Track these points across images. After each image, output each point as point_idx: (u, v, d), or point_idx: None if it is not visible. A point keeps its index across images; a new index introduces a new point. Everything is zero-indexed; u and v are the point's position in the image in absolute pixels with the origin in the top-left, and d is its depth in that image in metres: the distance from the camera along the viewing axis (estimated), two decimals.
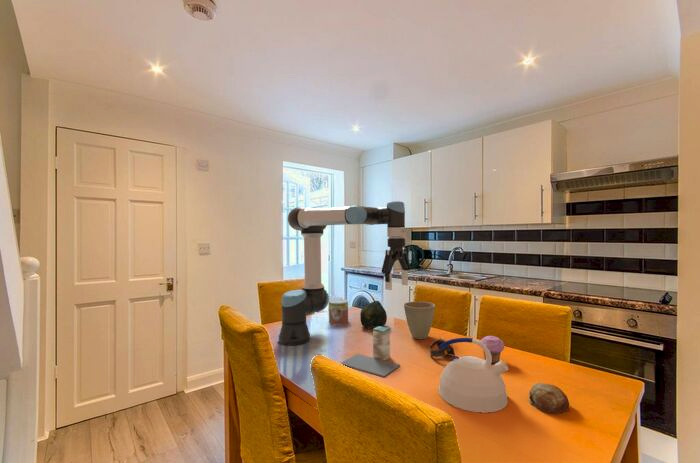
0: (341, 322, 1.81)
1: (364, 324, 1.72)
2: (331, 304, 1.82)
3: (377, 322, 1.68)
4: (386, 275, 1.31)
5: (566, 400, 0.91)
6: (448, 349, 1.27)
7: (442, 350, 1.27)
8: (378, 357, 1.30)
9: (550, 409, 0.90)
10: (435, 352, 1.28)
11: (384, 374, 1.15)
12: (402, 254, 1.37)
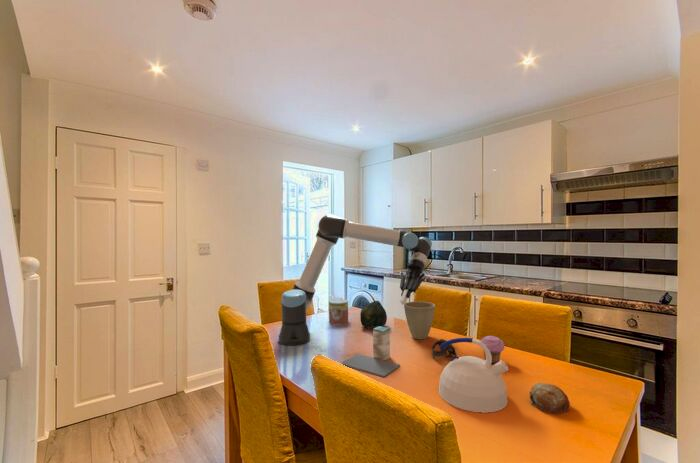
0: (341, 322, 1.81)
1: (364, 324, 1.72)
2: (331, 304, 1.82)
3: (377, 322, 1.68)
4: None
5: (566, 400, 0.91)
6: (450, 349, 1.27)
7: (444, 350, 1.26)
8: (378, 357, 1.30)
9: (550, 409, 0.90)
10: (437, 352, 1.27)
11: (384, 374, 1.15)
12: (413, 272, 1.55)
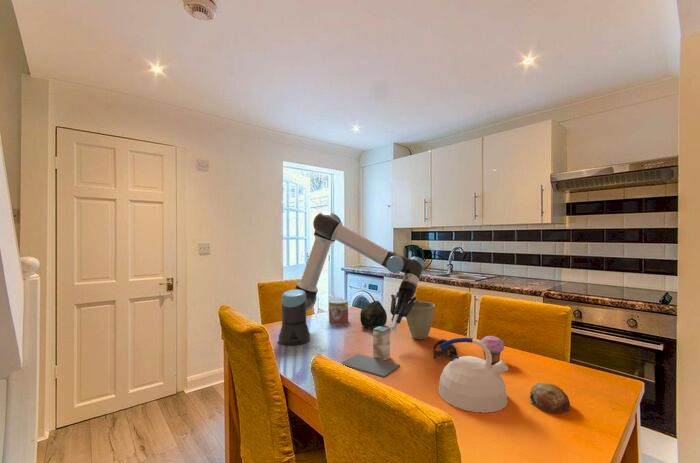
0: (341, 322, 1.81)
1: (364, 324, 1.72)
2: (331, 304, 1.82)
3: (377, 322, 1.68)
4: None
5: (567, 400, 0.91)
6: (451, 349, 1.27)
7: (445, 350, 1.26)
8: (378, 357, 1.30)
9: (551, 409, 0.90)
10: (438, 352, 1.27)
11: (384, 374, 1.15)
12: (405, 295, 1.47)
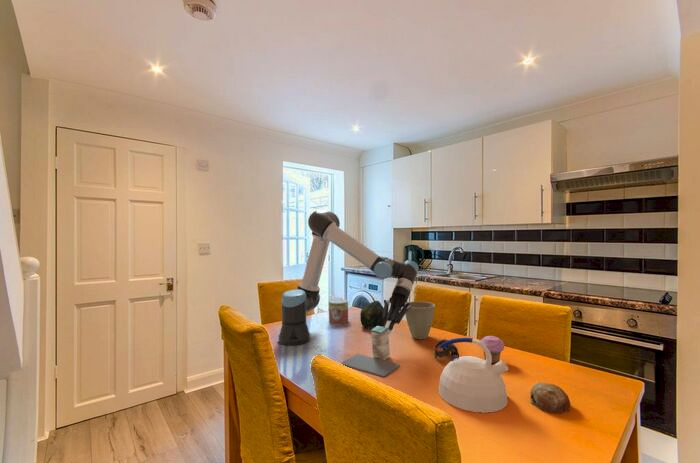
0: (341, 322, 1.81)
1: (364, 324, 1.72)
2: (331, 304, 1.82)
3: (377, 322, 1.68)
4: None
5: (567, 400, 0.91)
6: (453, 350, 1.27)
7: (447, 351, 1.26)
8: (378, 357, 1.30)
9: (551, 409, 0.90)
10: (440, 353, 1.27)
11: (384, 374, 1.15)
12: (398, 301, 1.42)
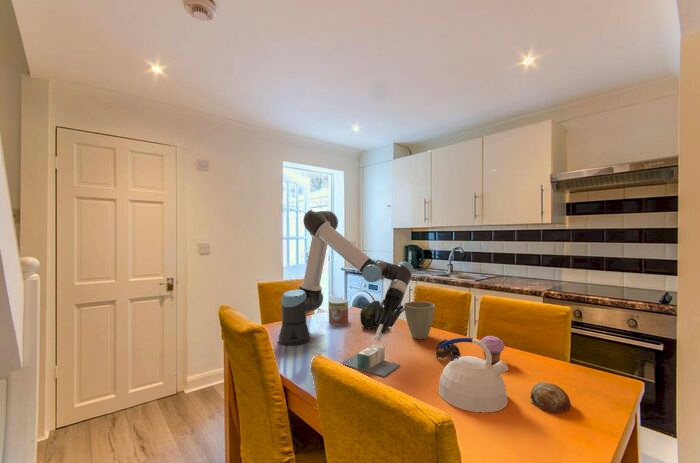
0: (341, 322, 1.81)
1: (364, 324, 1.72)
2: (331, 304, 1.82)
3: None
4: None
5: (567, 399, 0.91)
6: (454, 350, 1.26)
7: (448, 351, 1.26)
8: None
9: (551, 408, 0.90)
10: (441, 353, 1.27)
11: (384, 374, 1.15)
12: (391, 303, 1.37)
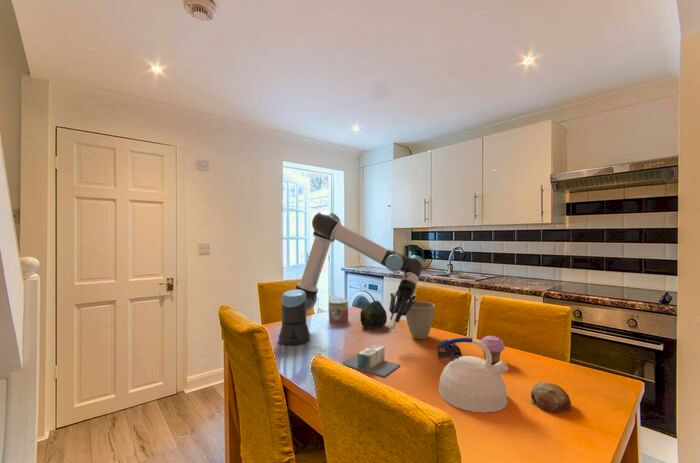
0: (341, 322, 1.81)
1: (364, 324, 1.72)
2: (331, 304, 1.82)
3: (377, 322, 1.68)
4: None
5: (568, 399, 0.92)
6: (456, 350, 1.26)
7: (450, 351, 1.25)
8: None
9: (552, 408, 0.90)
10: (443, 353, 1.26)
11: (384, 374, 1.15)
12: (404, 294, 1.47)
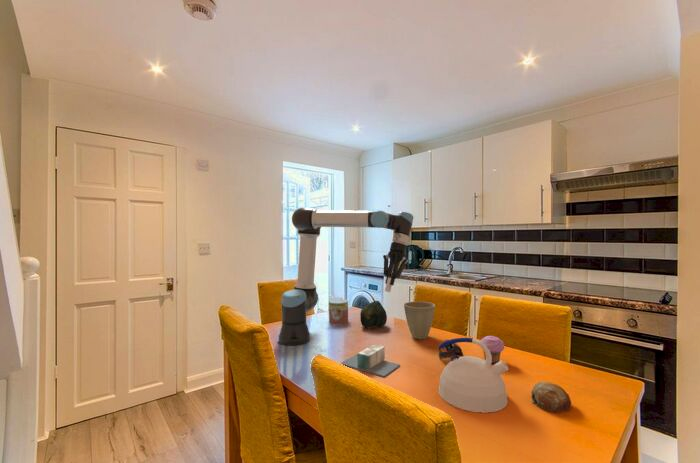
0: (341, 322, 1.81)
1: (364, 324, 1.72)
2: (331, 304, 1.82)
3: (377, 322, 1.68)
4: None
5: (568, 399, 0.92)
6: (457, 350, 1.26)
7: (451, 351, 1.25)
8: None
9: (552, 408, 0.90)
10: (444, 353, 1.26)
11: (384, 374, 1.15)
12: (396, 257, 1.51)
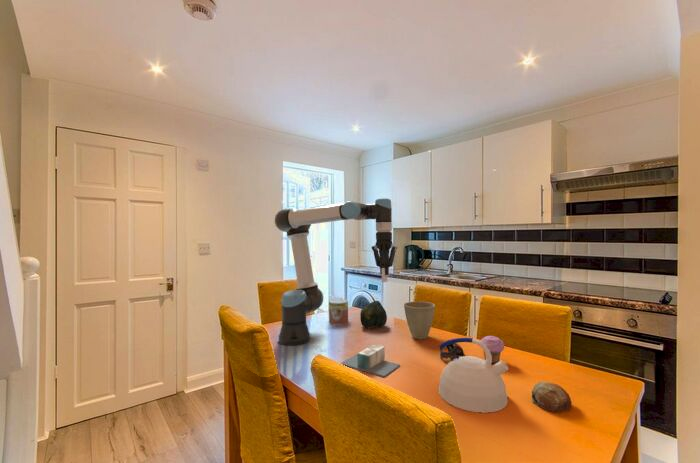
0: (341, 322, 1.81)
1: (364, 324, 1.72)
2: (331, 304, 1.82)
3: (377, 322, 1.68)
4: None
5: (568, 399, 0.92)
6: (459, 350, 1.26)
7: (453, 351, 1.25)
8: None
9: (552, 408, 0.91)
10: (445, 354, 1.26)
11: (384, 374, 1.15)
12: (384, 247, 1.48)
